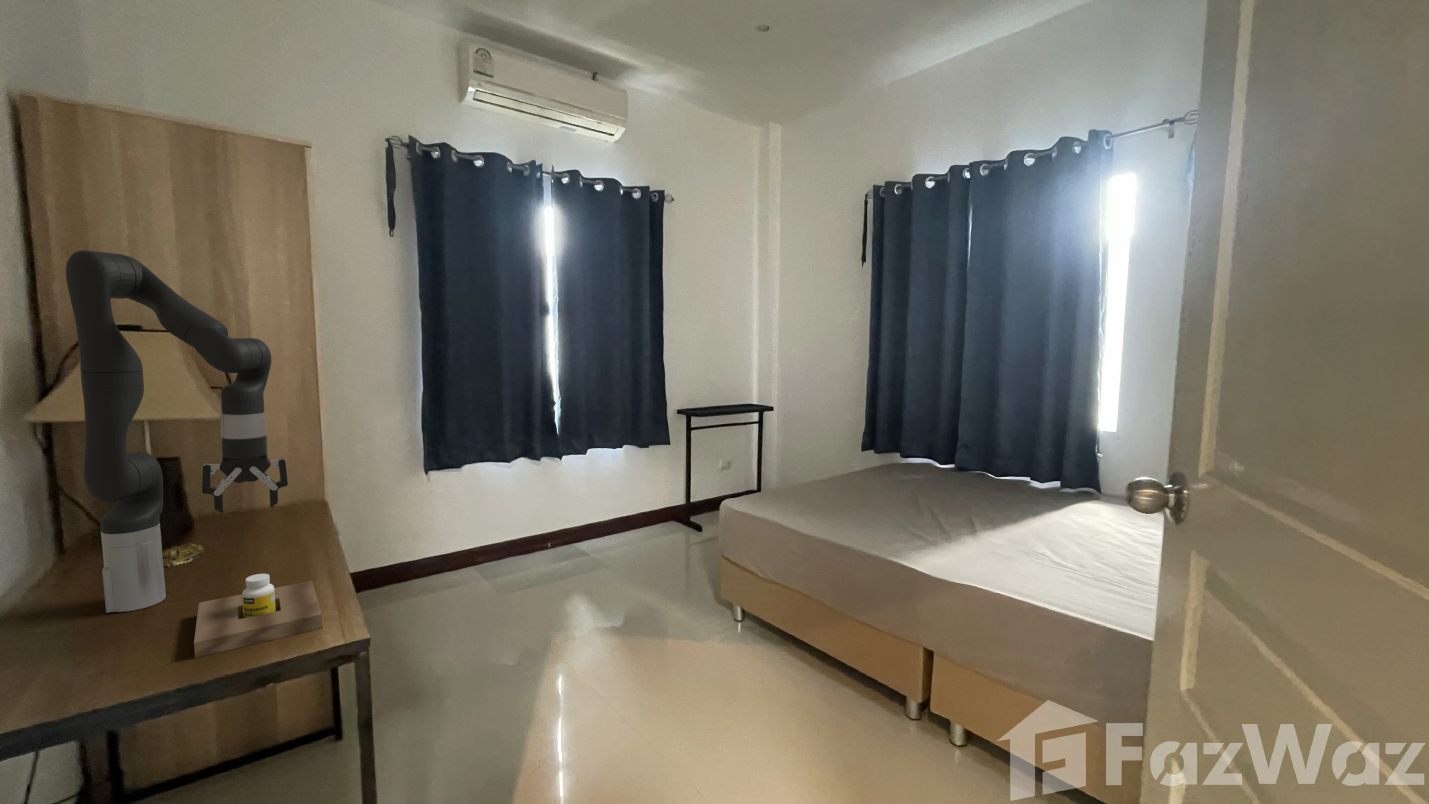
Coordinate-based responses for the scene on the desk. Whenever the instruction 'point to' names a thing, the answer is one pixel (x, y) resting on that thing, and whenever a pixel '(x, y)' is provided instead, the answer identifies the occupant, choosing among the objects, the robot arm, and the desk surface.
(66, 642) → the desk surface
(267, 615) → the socket board
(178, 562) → the noodle cake
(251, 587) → the supplement bottle
